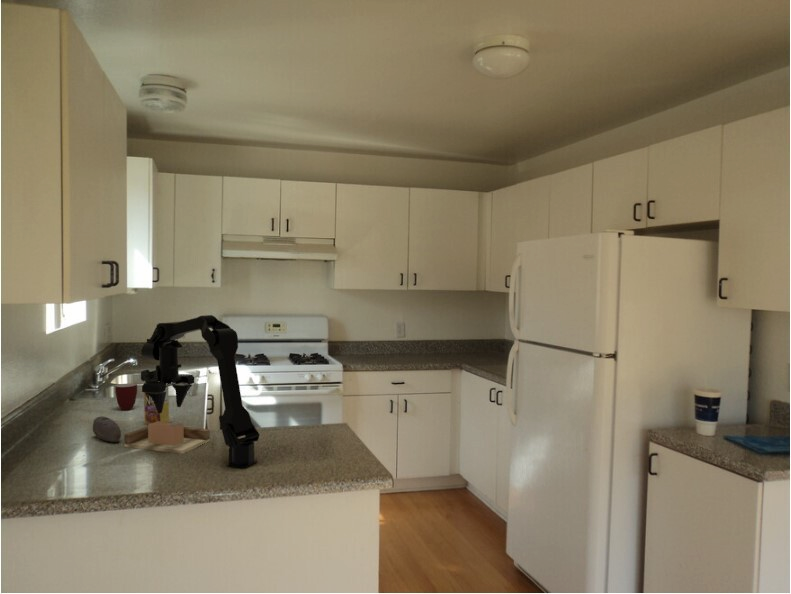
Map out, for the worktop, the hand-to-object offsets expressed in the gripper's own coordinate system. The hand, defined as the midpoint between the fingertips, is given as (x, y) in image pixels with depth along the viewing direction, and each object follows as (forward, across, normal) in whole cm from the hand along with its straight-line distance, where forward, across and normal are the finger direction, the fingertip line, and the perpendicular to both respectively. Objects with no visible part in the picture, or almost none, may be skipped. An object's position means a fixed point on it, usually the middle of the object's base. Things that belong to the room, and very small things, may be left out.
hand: (169, 410), depth 191 cm
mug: (+12, -38, -52) cm, 65 cm away
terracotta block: (+10, 0, -1) cm, 11 cm away
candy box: (+12, -22, -23) cm, 34 cm away
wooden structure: (+12, -2, -2) cm, 12 cm away
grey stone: (+12, 0, -24) cm, 27 cm away
